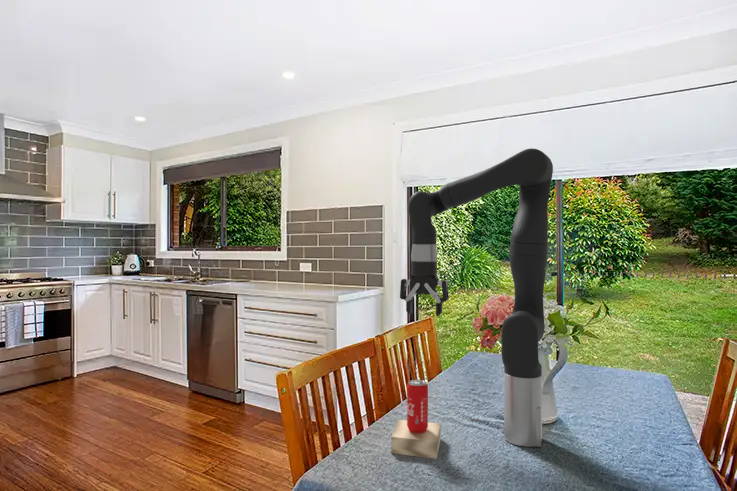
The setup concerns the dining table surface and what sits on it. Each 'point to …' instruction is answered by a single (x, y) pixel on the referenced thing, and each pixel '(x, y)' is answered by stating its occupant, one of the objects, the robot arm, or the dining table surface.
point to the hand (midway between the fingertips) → (423, 314)
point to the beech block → (416, 440)
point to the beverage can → (417, 406)
